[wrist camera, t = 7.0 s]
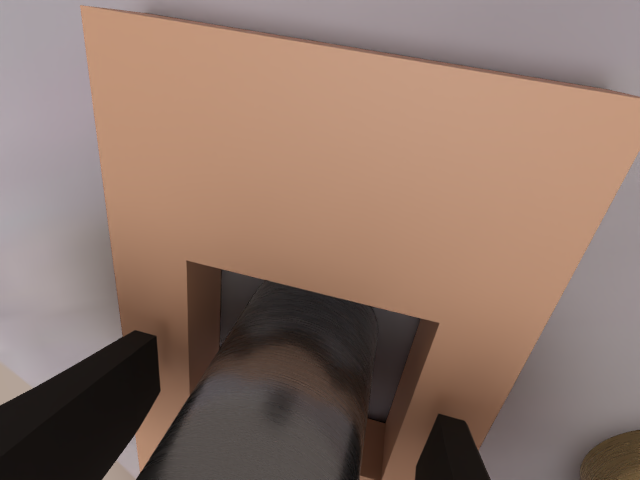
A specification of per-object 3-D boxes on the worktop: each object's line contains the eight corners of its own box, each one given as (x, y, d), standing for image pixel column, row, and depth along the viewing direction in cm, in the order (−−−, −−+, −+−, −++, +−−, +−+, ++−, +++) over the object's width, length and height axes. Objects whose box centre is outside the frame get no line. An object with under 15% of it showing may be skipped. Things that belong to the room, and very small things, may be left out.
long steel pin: (356, 390, 13) (304, 708, 7) (242, 350, 13) (91, 619, 7) (396, 294, 11) (373, 618, 5) (261, 250, 11) (75, 502, 5)
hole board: (407, 521, 15) (407, 583, 13) (171, 447, 16) (143, 495, 15) (608, 89, 8) (665, 102, 6) (145, 13, 9) (79, 4, 7)
